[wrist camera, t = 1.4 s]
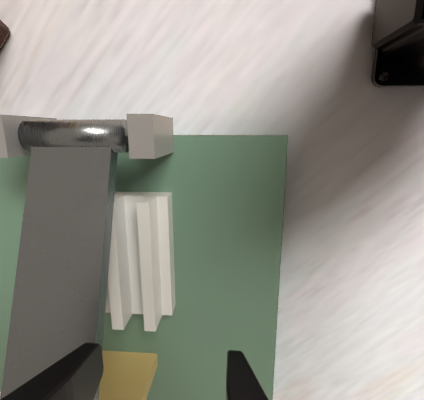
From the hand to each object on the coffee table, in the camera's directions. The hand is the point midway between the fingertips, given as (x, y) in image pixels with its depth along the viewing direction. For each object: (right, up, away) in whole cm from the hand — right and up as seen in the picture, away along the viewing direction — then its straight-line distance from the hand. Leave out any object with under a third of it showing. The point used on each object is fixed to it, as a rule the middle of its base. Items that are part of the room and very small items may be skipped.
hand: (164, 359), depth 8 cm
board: (-5, -1, +13) cm, 14 cm away
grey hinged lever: (-6, 0, +6) cm, 8 cm away
